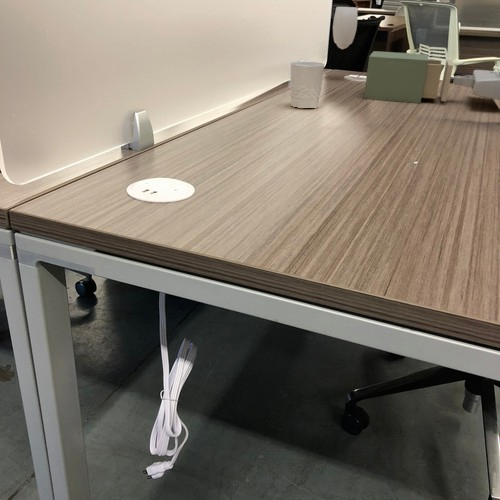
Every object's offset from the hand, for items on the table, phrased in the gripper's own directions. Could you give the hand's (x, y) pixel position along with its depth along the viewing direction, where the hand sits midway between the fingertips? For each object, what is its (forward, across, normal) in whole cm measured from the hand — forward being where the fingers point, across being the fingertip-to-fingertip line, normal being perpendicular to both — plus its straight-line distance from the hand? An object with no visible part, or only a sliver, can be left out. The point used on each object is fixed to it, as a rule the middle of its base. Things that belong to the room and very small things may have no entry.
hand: (454, 79), depth 132 cm
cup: (+34, -21, +6) cm, 40 cm away
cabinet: (+15, 0, +6) cm, 16 cm away
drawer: (+7, 0, +5) cm, 9 cm away
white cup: (+33, +24, +6) cm, 42 cm away
